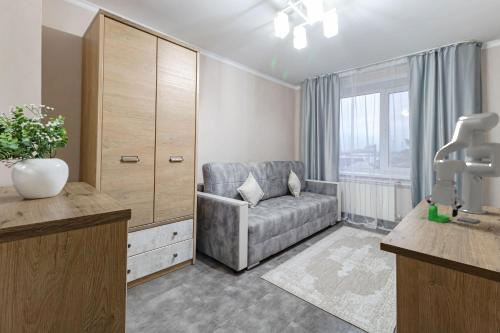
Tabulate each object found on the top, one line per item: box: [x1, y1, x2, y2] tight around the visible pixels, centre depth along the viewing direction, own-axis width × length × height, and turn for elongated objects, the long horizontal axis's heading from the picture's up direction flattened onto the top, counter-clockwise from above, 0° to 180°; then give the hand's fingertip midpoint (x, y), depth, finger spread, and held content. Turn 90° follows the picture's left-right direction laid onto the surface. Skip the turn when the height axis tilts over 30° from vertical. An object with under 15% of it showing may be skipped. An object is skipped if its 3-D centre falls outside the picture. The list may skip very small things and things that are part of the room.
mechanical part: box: [427, 205, 450, 224], centre depth 125 cm, size 12×6×8 cm, turn 120°
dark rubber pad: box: [456, 216, 481, 225], centre depth 123 cm, size 8×7×1 cm
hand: (443, 214), depth 124 cm, fingers open, 9 cm apart
